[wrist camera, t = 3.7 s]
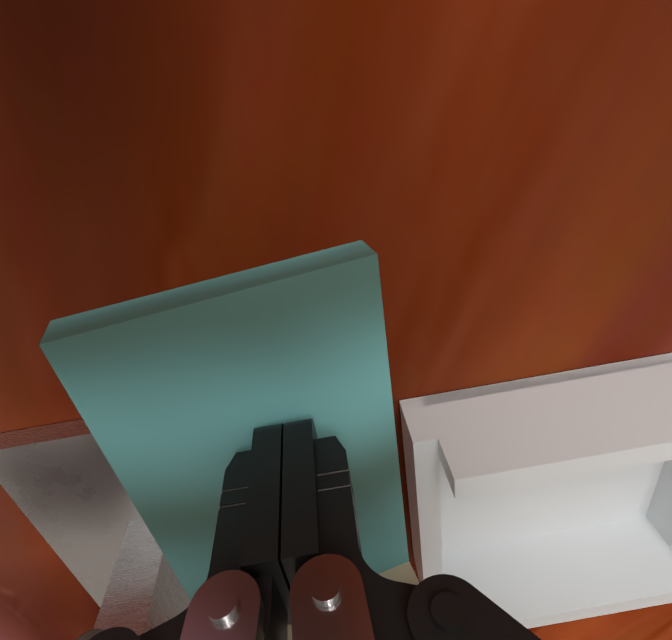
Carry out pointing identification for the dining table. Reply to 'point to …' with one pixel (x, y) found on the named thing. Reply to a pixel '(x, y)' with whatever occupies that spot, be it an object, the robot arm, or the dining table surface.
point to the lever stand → (91, 524)
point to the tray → (548, 489)
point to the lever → (239, 393)
